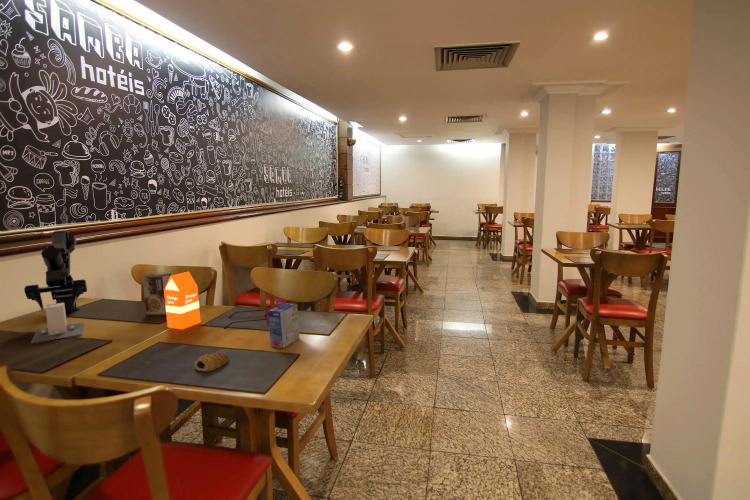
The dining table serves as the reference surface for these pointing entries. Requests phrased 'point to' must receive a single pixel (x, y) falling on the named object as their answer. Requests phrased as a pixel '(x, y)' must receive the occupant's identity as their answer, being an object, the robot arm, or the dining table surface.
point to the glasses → (250, 320)
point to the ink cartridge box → (283, 324)
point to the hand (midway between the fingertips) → (57, 307)
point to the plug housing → (56, 318)
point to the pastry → (210, 361)
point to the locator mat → (70, 333)
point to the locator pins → (57, 331)
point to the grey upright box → (155, 292)
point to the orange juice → (182, 301)
